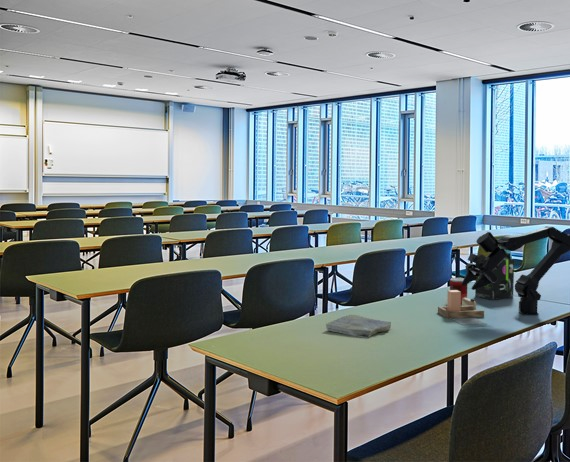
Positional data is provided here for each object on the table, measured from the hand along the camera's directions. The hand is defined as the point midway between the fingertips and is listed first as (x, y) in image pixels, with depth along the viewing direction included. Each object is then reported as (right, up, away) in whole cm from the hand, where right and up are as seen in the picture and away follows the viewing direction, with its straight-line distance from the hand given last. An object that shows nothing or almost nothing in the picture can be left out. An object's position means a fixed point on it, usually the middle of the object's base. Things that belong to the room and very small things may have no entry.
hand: (467, 287), depth 247 cm
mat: (-3, -13, -11) cm, 17 cm away
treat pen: (-2, -11, +6) cm, 13 cm away
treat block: (-5, -11, 0) cm, 13 cm away
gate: (+5, -10, +13) cm, 17 cm away
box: (+25, -9, +39) cm, 48 cm away
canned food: (+4, -10, +26) cm, 28 cm away
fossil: (-47, -15, -21) cm, 53 cm away
